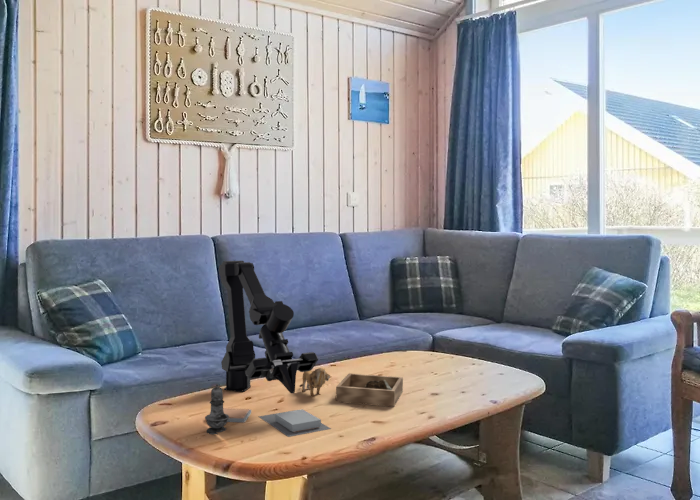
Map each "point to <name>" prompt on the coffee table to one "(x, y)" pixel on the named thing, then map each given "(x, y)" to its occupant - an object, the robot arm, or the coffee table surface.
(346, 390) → the box
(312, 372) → the lion figurine
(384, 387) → the rock sample
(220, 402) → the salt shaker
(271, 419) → the mat
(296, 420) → the tile
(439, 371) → the coffee table surface
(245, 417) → the tile
